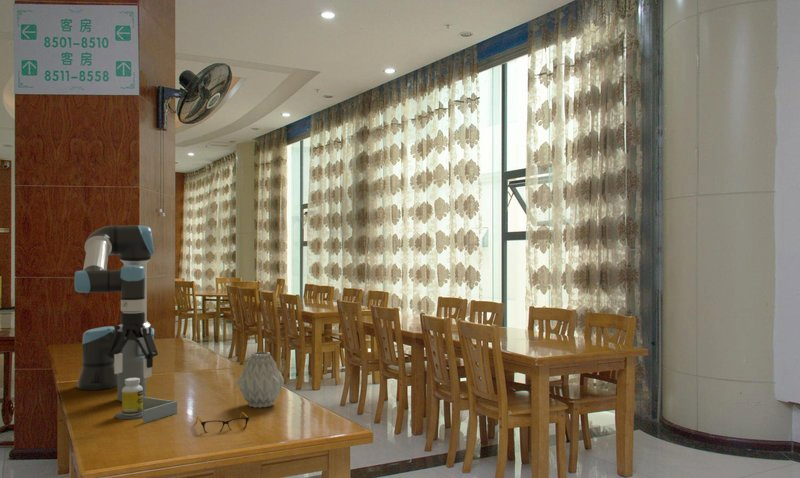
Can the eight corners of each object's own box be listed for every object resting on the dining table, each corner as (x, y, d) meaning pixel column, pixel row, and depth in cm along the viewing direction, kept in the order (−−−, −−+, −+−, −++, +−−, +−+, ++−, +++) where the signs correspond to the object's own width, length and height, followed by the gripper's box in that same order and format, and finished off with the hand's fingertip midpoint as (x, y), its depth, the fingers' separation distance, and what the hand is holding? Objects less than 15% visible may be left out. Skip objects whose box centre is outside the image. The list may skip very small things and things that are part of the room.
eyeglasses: (201, 435, 204) (201, 422, 204) (195, 423, 218) (196, 411, 218) (249, 430, 210) (249, 417, 210) (240, 418, 223) (240, 406, 223)
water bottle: (152, 397, 252) (152, 322, 252) (134, 403, 242) (134, 325, 242) (130, 395, 255) (130, 321, 255) (111, 401, 246) (111, 324, 246)
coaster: (107, 417, 224) (107, 415, 224) (134, 409, 234) (134, 408, 234) (131, 421, 219) (131, 419, 219) (157, 413, 229) (157, 412, 229)
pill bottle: (135, 416, 222) (135, 381, 222) (117, 415, 224) (117, 380, 224) (146, 411, 229) (146, 377, 229) (129, 410, 230) (129, 376, 230)
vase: (244, 413, 229) (244, 358, 229) (232, 402, 243) (232, 351, 243) (290, 407, 236) (290, 354, 236) (276, 397, 251) (276, 348, 251)
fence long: (130, 406, 237) (130, 395, 237) (132, 406, 238) (132, 395, 238) (170, 413, 229) (170, 401, 229) (172, 412, 230) (172, 400, 230)
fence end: (142, 422, 217) (142, 410, 217) (175, 412, 229) (175, 401, 229) (144, 423, 216) (144, 410, 216) (177, 413, 229) (177, 401, 229)
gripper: (97, 310, 228) (97, 373, 229) (151, 315, 217) (151, 381, 218) (115, 308, 235) (115, 369, 236) (168, 312, 224) (168, 376, 224)
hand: (132, 375), depth 227 cm, fingers open, 13 cm apart
